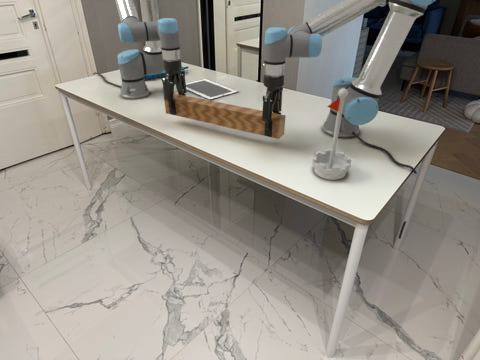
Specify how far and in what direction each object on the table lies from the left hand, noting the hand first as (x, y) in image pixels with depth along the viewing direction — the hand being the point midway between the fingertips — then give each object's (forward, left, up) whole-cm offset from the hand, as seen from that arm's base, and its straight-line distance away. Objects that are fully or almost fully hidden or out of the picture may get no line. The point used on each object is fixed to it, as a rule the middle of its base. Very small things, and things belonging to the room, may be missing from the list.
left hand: (177, 112), depth 154 cm
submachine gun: (-80, +31, -6) cm, 86 cm away
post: (+21, +9, -1) cm, 23 cm away
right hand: (+43, +19, 0) cm, 47 cm away
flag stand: (+71, +22, -6) cm, 74 cm away
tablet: (-33, +37, -6) cm, 50 cm away
